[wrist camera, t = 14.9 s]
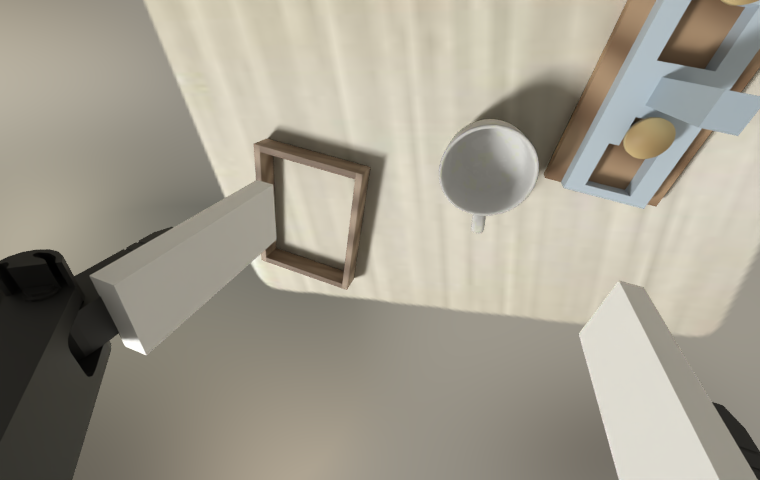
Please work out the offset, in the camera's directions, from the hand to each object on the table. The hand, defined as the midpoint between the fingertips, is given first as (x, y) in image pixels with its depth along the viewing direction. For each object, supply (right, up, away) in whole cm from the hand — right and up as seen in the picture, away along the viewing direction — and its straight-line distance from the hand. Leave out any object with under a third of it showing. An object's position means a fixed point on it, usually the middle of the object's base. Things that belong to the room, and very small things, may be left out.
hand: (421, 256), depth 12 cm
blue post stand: (+27, +17, +20) cm, 38 cm away
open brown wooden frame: (-13, +5, +44) cm, 46 cm away
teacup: (+13, +11, +31) cm, 35 cm away
